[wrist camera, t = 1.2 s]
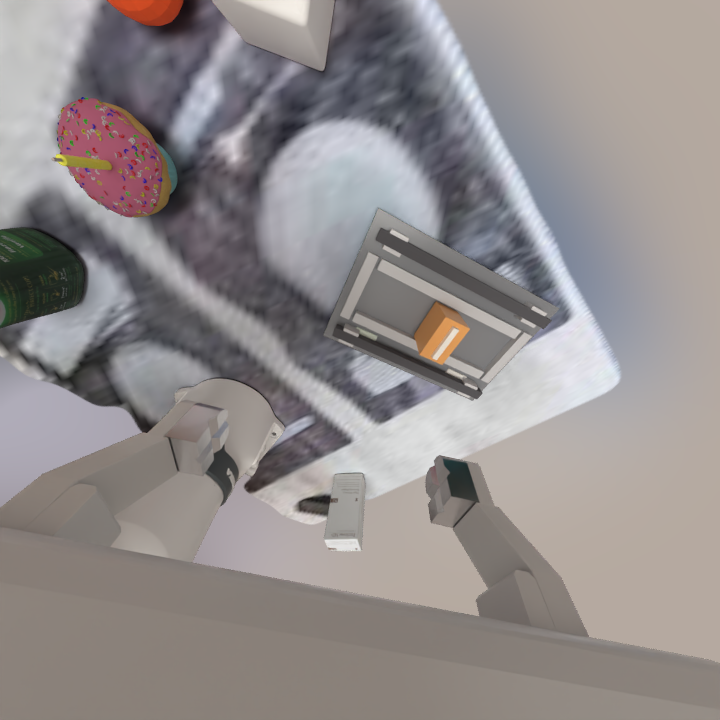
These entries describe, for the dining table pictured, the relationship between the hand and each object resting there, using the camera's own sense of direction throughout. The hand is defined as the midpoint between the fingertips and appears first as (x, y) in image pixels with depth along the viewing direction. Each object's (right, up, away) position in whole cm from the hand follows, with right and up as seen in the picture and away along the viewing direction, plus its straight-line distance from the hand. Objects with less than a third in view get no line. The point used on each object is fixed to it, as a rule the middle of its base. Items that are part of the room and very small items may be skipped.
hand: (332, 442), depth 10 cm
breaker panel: (+11, +9, +24) cm, 28 cm away
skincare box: (-1, -22, +44) cm, 49 cm away
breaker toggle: (+10, +8, +22) cm, 25 cm away
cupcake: (-21, +23, +17) cm, 36 cm away
